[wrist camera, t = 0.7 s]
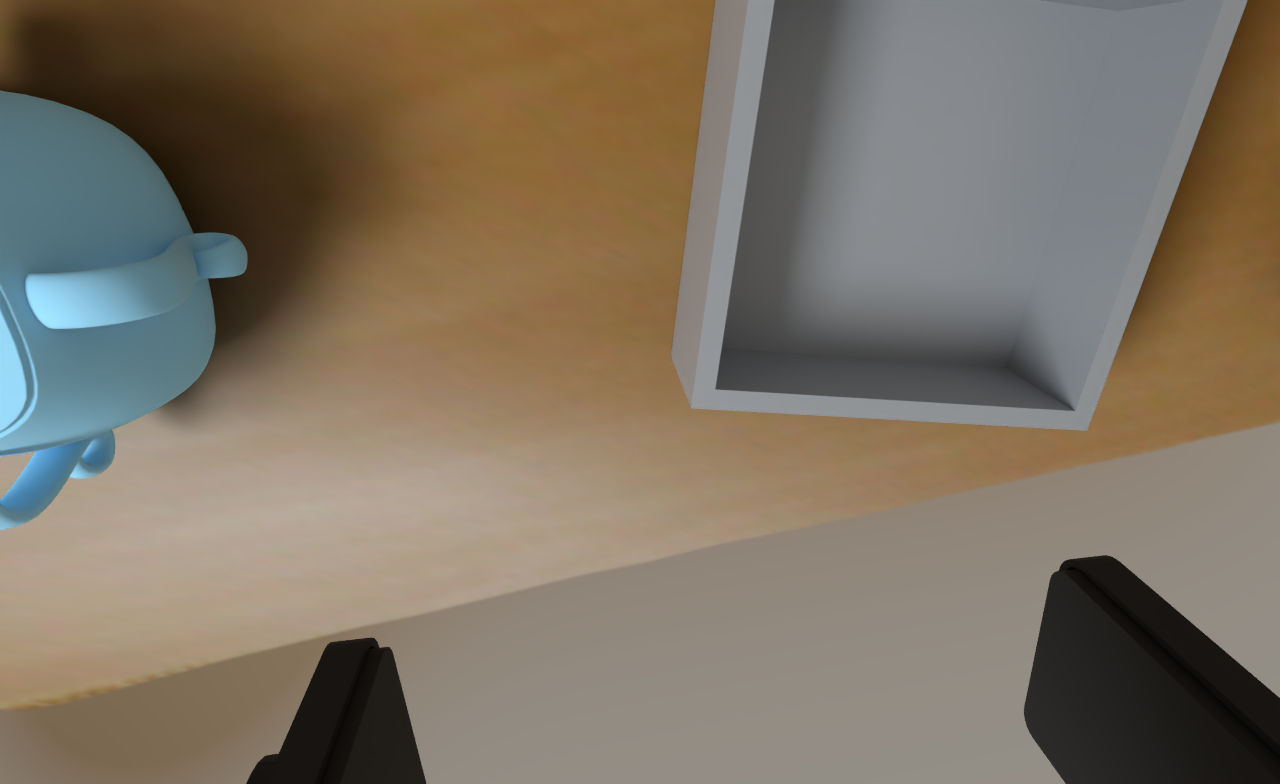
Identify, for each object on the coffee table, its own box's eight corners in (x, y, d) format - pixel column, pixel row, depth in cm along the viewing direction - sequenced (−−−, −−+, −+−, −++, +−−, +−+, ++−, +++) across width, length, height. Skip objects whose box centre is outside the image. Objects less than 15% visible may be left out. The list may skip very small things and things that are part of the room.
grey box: (723, -65, 32) (763, -105, 25) (1129, -8, 34) (1259, -32, 28) (671, 356, 39) (690, 408, 33) (1007, 378, 42) (1086, 430, 35)
